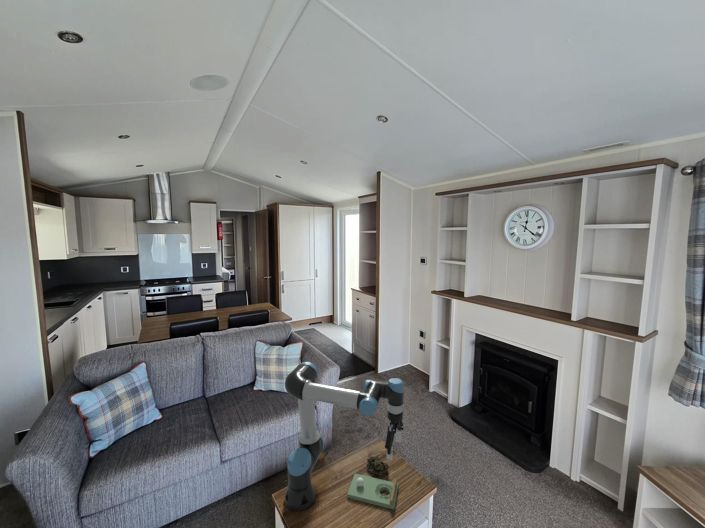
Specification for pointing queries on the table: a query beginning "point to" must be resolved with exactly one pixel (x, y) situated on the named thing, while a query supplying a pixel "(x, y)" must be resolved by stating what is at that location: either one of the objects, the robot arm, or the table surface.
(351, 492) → the green
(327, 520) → the table surface
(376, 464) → the rock
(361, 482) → the ball
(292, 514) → the table surface
